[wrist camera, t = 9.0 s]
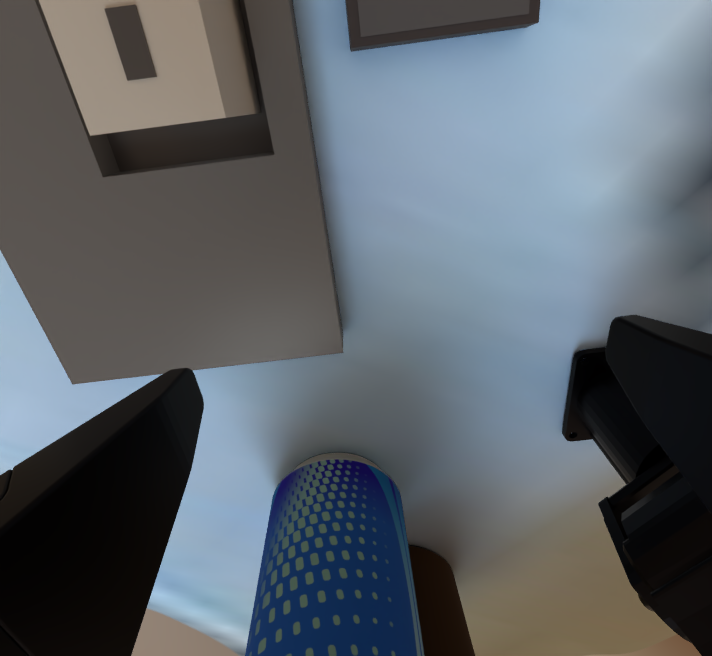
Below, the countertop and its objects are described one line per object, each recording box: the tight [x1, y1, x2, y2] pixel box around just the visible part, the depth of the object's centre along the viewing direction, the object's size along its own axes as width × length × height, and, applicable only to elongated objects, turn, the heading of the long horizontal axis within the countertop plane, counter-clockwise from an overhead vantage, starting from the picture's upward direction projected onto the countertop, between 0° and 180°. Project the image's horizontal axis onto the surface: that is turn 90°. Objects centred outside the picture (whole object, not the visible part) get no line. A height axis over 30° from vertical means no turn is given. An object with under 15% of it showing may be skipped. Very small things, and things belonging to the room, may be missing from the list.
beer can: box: [245, 453, 425, 656], centre depth 22 cm, size 8×8×16 cm
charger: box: [39, 0, 261, 136], centre depth 14 cm, size 4×4×6 cm
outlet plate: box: [0, 0, 343, 384], centre depth 18 cm, size 18×14×2 cm
